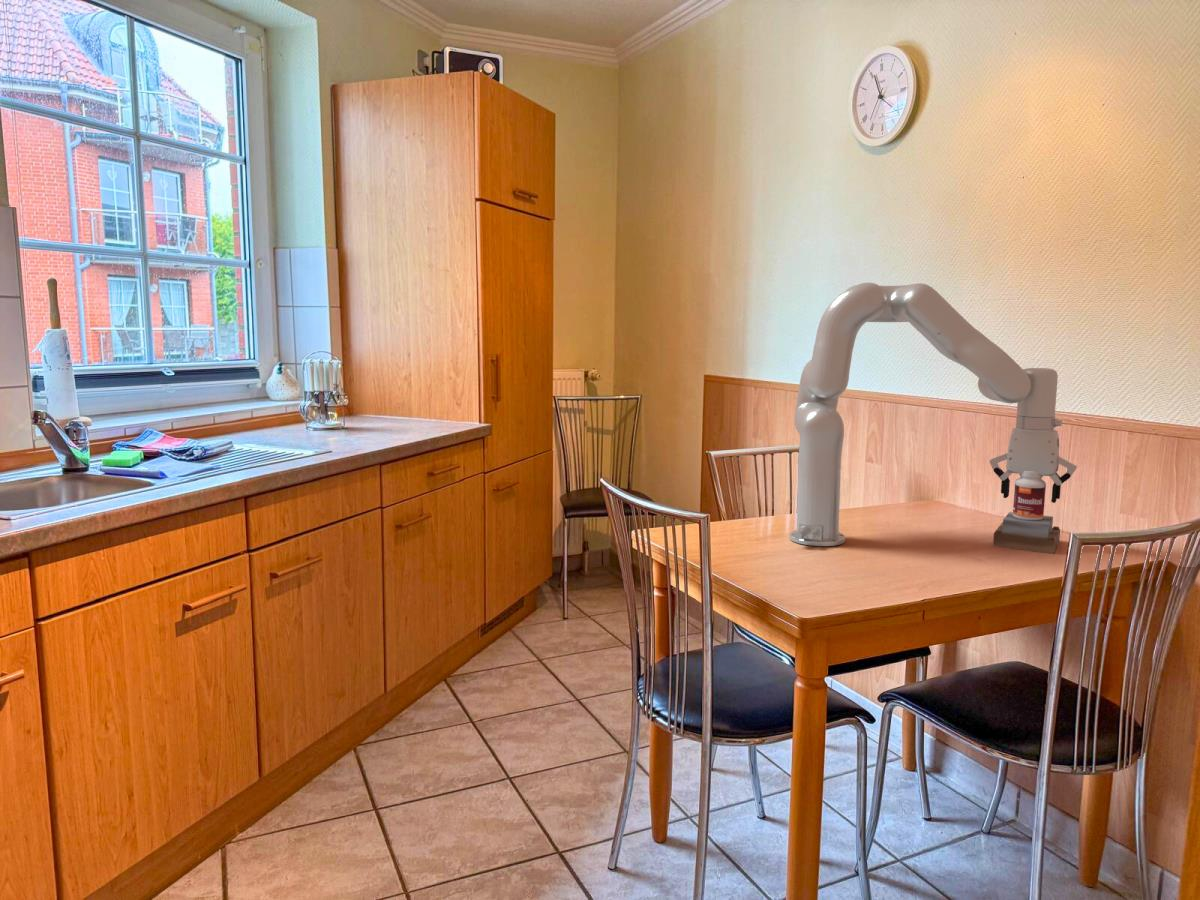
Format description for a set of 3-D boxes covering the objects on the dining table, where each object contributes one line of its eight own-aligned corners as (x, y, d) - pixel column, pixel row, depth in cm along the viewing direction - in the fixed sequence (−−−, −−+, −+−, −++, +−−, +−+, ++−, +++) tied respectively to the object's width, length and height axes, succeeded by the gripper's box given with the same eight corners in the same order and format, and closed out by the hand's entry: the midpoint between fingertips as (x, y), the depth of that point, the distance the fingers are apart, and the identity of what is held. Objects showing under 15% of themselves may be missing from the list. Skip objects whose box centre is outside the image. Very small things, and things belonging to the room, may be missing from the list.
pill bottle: (1013, 520, 183) (1017, 471, 181) (1011, 514, 188) (1014, 467, 187) (1045, 522, 181) (1048, 473, 179) (1041, 516, 186) (1045, 468, 185)
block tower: (1053, 553, 177) (1055, 526, 176) (993, 545, 184) (994, 519, 183) (1059, 541, 187) (1061, 516, 186) (1001, 534, 194) (1003, 509, 193)
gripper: (1081, 424, 180) (1075, 500, 182) (995, 420, 189) (990, 492, 192) (1078, 428, 173) (1072, 506, 176) (989, 423, 183) (984, 498, 186)
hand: (1029, 499), depth 184 cm, fingers open, 9 cm apart
